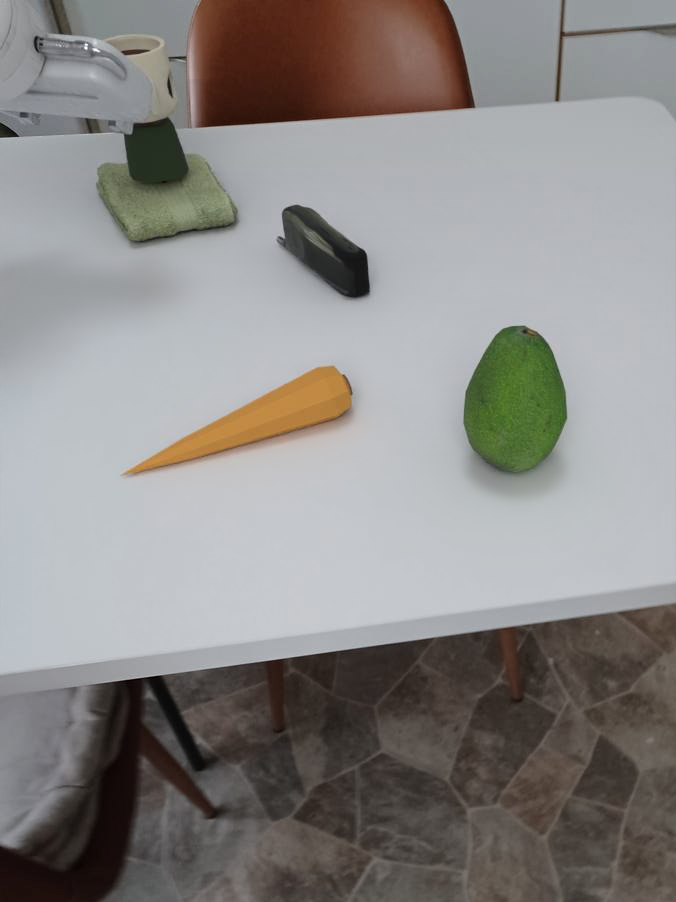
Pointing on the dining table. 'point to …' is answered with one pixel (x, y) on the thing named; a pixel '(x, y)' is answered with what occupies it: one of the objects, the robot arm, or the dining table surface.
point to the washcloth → (165, 200)
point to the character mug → (153, 113)
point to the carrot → (265, 417)
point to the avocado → (515, 401)
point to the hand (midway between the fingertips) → (79, 121)
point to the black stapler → (325, 250)
